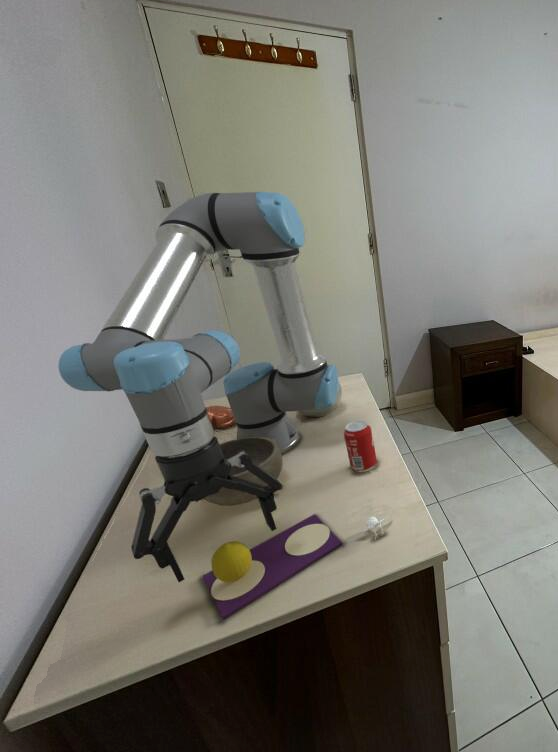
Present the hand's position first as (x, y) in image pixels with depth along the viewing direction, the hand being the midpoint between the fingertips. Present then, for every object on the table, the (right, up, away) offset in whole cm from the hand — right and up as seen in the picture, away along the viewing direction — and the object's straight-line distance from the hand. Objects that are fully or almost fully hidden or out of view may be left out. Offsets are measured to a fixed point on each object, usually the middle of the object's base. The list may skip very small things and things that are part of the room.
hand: (228, 549), depth 68 cm
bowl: (-14, +2, +25) cm, 29 cm away
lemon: (0, -6, +2) cm, 7 cm away
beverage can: (+11, +6, +33) cm, 35 cm away
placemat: (+4, -5, +7) cm, 9 cm away
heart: (-42, +13, +54) cm, 69 cm away
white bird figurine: (+21, -2, +13) cm, 24 cm away
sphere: (-14, +17, +61) cm, 65 cm away
